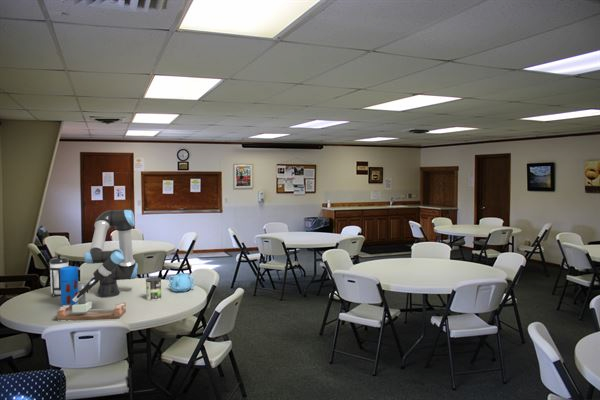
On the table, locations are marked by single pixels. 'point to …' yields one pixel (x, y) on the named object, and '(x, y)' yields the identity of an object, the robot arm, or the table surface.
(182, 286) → the decorative pot
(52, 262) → the coffee press
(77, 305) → the carriage
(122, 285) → the table surface
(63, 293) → the thermos
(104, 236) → the robot arm
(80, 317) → the rail board
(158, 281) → the coffee can
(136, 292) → the table surface
